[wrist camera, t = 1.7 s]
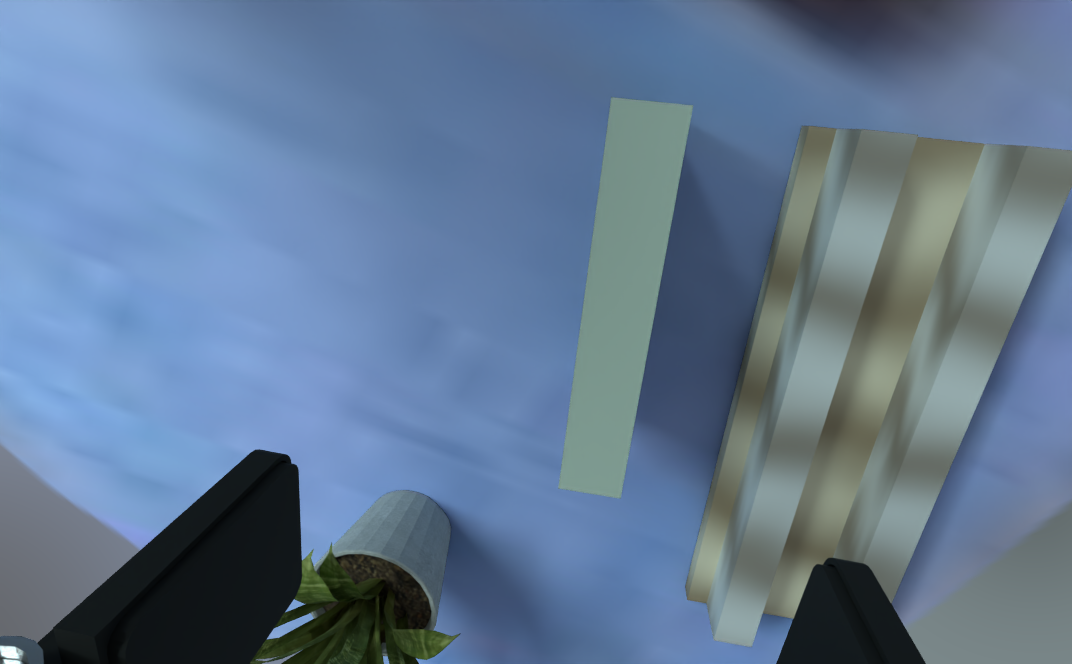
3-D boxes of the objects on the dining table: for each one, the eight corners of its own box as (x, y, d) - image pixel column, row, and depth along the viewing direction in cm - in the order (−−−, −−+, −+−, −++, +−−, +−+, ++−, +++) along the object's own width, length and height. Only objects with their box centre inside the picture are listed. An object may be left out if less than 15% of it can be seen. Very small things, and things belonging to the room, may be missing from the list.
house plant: (250, 428, 34) (-50, 680, 18) (465, 386, 31) (320, 643, 15) (338, 610, 38) (154, 935, 23) (533, 588, 35) (472, 944, 20)
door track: (801, 125, 24) (831, 126, 21) (1048, 151, 23) (1119, 155, 20) (685, 586, 33) (692, 636, 30) (858, 617, 33) (885, 671, 29)
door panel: (612, 106, 25) (611, 97, 17) (666, 111, 25) (693, 105, 16) (573, 386, 30) (558, 488, 22) (618, 393, 30) (620, 498, 21)
